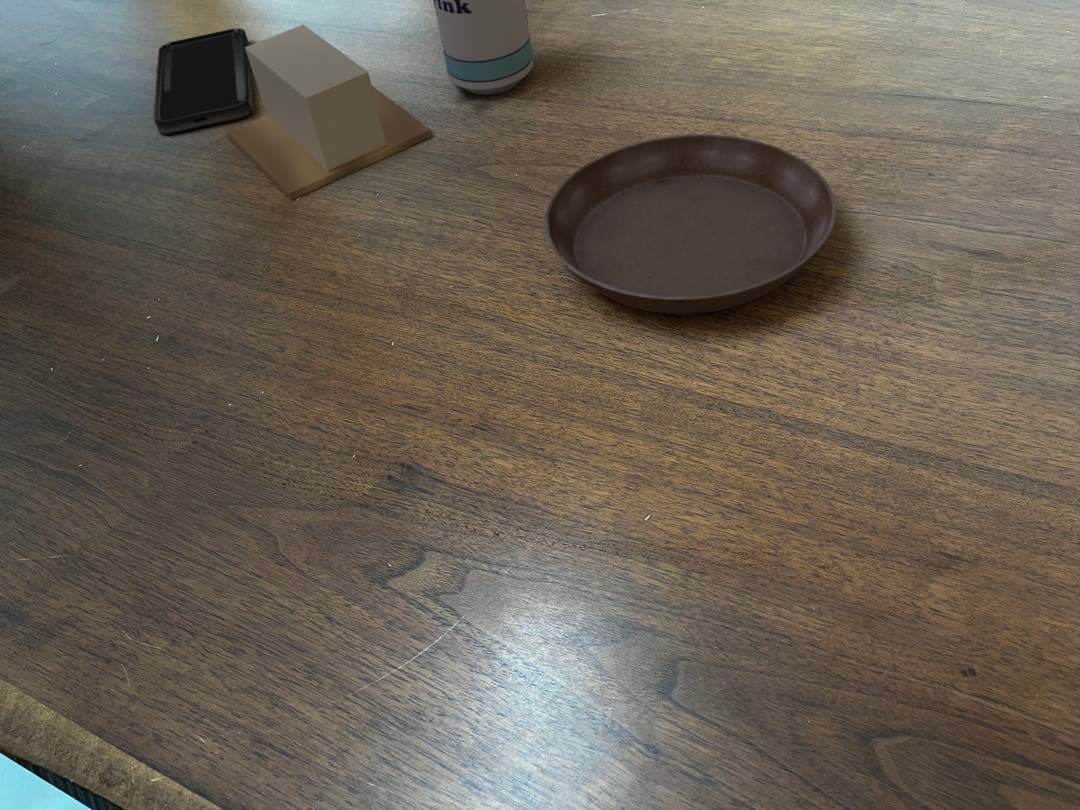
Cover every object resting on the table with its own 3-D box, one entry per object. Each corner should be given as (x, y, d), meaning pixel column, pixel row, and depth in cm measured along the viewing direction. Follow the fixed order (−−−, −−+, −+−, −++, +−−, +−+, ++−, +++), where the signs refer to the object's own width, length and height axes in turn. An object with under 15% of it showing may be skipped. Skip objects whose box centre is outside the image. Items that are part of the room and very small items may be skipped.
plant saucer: (605, 156, 77) (602, 118, 75) (858, 185, 71) (862, 144, 69) (506, 312, 66) (498, 272, 64) (795, 362, 60) (797, 320, 58)
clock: (389, 144, 81) (371, 70, 77) (328, 172, 79) (305, 97, 75) (325, 93, 88) (305, 23, 84) (267, 117, 86) (244, 47, 82)
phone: (244, 26, 98) (249, 103, 87) (248, 37, 99) (253, 115, 88) (157, 44, 97) (151, 124, 87) (162, 56, 98) (156, 137, 87)
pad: (291, 200, 78) (289, 193, 78) (228, 138, 86) (226, 131, 86) (432, 136, 82) (431, 129, 82) (360, 82, 90) (359, 76, 90)
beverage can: (433, 83, 88) (402, -65, 80) (499, 50, 91) (475, -97, 83) (485, 110, 84) (458, -44, 76) (552, 75, 87) (533, -78, 79)
